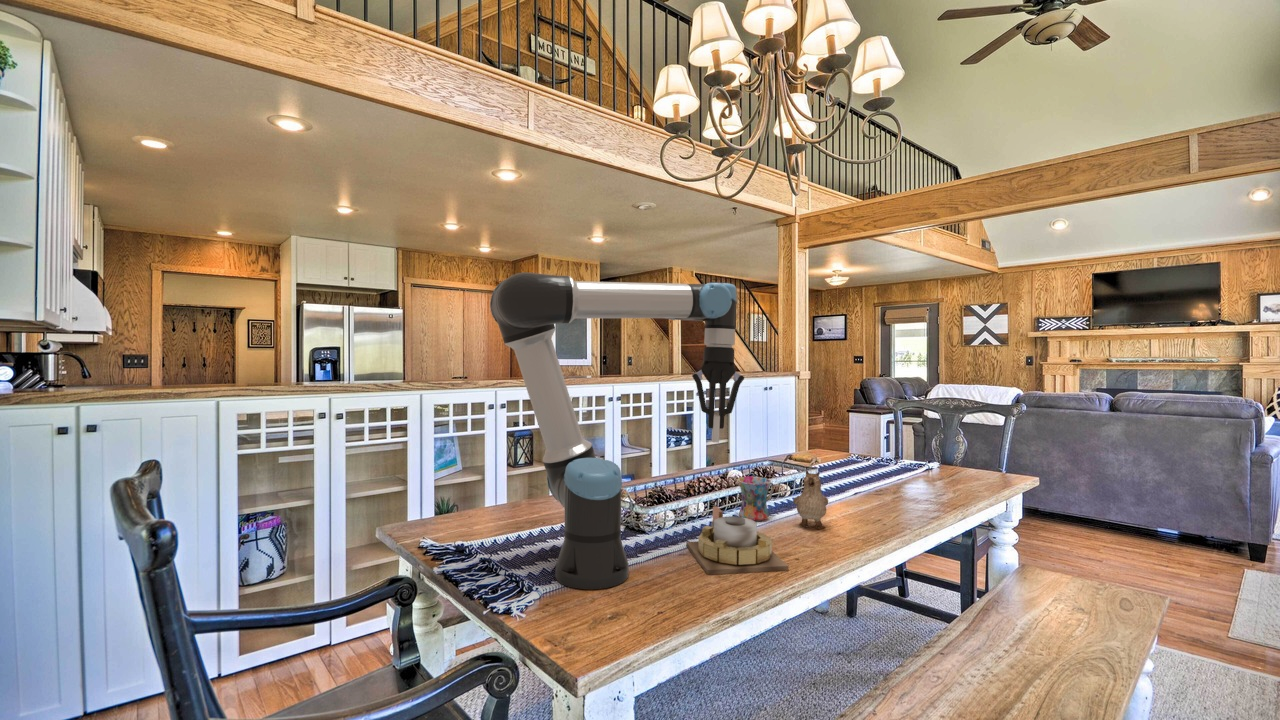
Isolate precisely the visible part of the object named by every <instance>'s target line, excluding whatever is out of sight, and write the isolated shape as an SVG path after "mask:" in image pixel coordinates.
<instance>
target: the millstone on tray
mask: <svg viewBox="0 0 1280 720" xmlns="http://www.w3.org/2000/svg"><path fill="white" fill-rule="evenodd" d="M721 517H724V511H722V510H721V509H720V508H719V507H718V506H712V522H710V525H704V526H703V527H702V528H701V530H702V532H701V533H700V535H698V541H699V546H698V550H699V552H700V553H701V554H702V555H703V556H704V557H706V558H708V559H711V560H714V561H716V562H718V561H719V562H721V563H728V564H735V565H737V563H738V565H744V564H756V563H757V564H758V563H760V562H763V561H766V560H768V559H770V556H771V554H772V552H773V546H772V545H773V539H772V538H770V537H769V536H768V535H767V534H764V533H763V532H759V531H757V542H756V546H753V547H740V548H736V547H728V546H727V541H724V540H720V539H718V540H717V541H715V543H714V520H715V519H717V518H721Z"/></svg>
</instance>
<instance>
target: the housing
mask: <svg viewBox="0 0 1280 720" xmlns="http://www.w3.org/2000/svg"><path fill="white" fill-rule="evenodd" d="M757 529H758V523H757V522H756V520H751V519H747V518H742V517H741V516H723V517H721V518H717V519H715V520H714V543H715V541H717V540H718V539H720V540H724V541H727V546H728V547H736V548H740V547H753V546H756V542H757V532H758V530H757ZM685 543H686V544H685V545H686V548H687V549H688V551H689V552H690V553H691V555H692V556H693V557H694V559H695V560H696V562H697V563H698V564H699V565H700V566H701V568H702V570H704V572H705V573H706V575H707V576H709V575H713V576H714V575H726V574H727V575H729V574H730V575H731V574H745V573H746V574H747V573H765V572H766V573H767V572H781V571H782V572H784V571H785V572H786V571H789V565H788V564H787V563H786V562H785V561H784V559H781V558H780V557H779V556H778V555H777V554H776V553H774V552H773V551H772V554H771V556H770V559H768V560H766V561H763V562H760V563H758V564H757V563H756V564H744V565H738V563H737V565H735V564H728V563H721V562H719V561H718V562H716V561H714V560H711V559H708V558H706V557H704V556H703V555H702V554H701V553H700V552H699V550H698V546H699V540H698V541H686V542H685Z"/></svg>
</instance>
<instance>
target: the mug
mask: <svg viewBox="0 0 1280 720" xmlns="http://www.w3.org/2000/svg"><path fill="white" fill-rule="evenodd" d="M737 483H738V485H739V488H740V491H741V507H740V509H739V512H738V517H742V518H747V519H751V520H753V521H764V520H766V519H767V520H768V518H770V513H769V510H768V506H767V502H768V500H769V499H770V498H771V497H772V495H773V493H774V490H775V485H774V484H773V483H772V480H771V479H769V478H765V477H761V476H743V477H742V476H741V477H738V479H737ZM770 487H771V490H770ZM769 490H770V493H769V494H768V492H769Z"/></svg>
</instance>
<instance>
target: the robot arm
mask: <svg viewBox="0 0 1280 720" xmlns="http://www.w3.org/2000/svg"><path fill="white" fill-rule="evenodd" d="M490 297H491V298H490V303H489V304H490V305H489V306H490V308H489V309H490V313H491V315H492V317H493V319H494V321H495V322H496V323H497V325H498V328H499V331H500V335H501V337H502V340H503V343H504V345H505V346H507V347H509V348H510V349H512V350H513V351H514V354H515V358H516V360H517V363H518V367H519V370H520V372H521V376H522V378H523V382H524V385H525V388H526V391H527V394H528V397H529V400H530V403H531V406H532V409H533V413H534V417H535V419H536V422H537V425H538V428H539V431H540V434H541V437H542V440H543V441H542V442H543V444H544V446H545V452H544V455H543V457H542V463H543V466H544V469H545V472H546V480H547V481H546V482H547V486H548V490H549V491H550V494H551V495H552V497H553V498H555V500H556V501H557V502H559V503H560V505H561V506H562V508H564V538H563V542H562V545H561V548H560V551H559V554H558V557H557V560H556V562H555V580H557V582H558V583H559V584H561V585H564V586H566V587H570V588H573V589H578V590H579V589H580V590H601V589H608V588H609V589H610V588H611V587H616V586H618V585H621V584H623V583H624V582H625V581H626V580H627V579H629V566H630V565H629V562H628V558H627V555H626V551H625V548H624V546H623V541H622V539H621V536H622V535H621V527H622V525H621V523H622V519H621V518H622V517H621V516H622V487H623V478H622V471H621V468H620V467H619V465H618V464H617V463H615V462H614V461H611V460H609V459H604V458H601V457H597V456H596V453H595V450H594V447H593V444H592V442H591V441H589V440H587V439H585V438H584V437H583V435H582V431H581V428H580V425H579V421H578V418H577V416H576V413H575V409H574V406H573V403H572V400H571V396H570V393H569V390H568V387H567V383H566V381H565V380H566V379H565V378H564V374H563V371H562V368H561V365H560V362H559V359H558V356H557V353H556V350H555V349H556V348H555V346H554V343H553V339H552V338H553V336H554V333H555V332H556V326H555V325H556V324H557V325H558V324H570V323H572V321H574V320H575V319H666V320H672V321H676V320H677V321H691V322H692V321H694V322H695V321H696V322H704V339H703V340H704V342H703V344H704V345H706V346H704V348H703V357H702V358H703V360H702V361H703V362H702V366H701V367H700V370H699V371H696V372H695V373H692V375H691V376H692V378H693V381H694V382H695V386H696V390H697V394H698V400H699V406H700V411H701V412H702V413H704V414H707V426H708V429H711V442H712V443H716V444H717V443H719V442H720V429H721V430H722V429H724V427H725V416H726V415H730V414H732V412H733V410H734V407H735V403H736V399H737V396H738V392H739V389H740V386H741V384H742V383H743V381H744V380H745V376H744V375H741V374H740V373H738V371H737V369H736V367H735V348H734V347H733V346H735V344H736V320H737V319H736V318H737V305H738V298H737V297H738V296H737V286H736V285H735V284H732V283H727V282H708V283H673V282H670V283H668V282H666V283H665V282H630V281H629V282H628V281H627V282H625V281H624V282H623V281H622V282H621V281H586V280H585V281H581V280H579V281H577V280H574V279H573V278H572V276H570V275H555V274H546V273H545V274H544V273H538V272H537V273H536V272H529V271H524V272H519V273H515V274H512V275H511V276H510V275H509V277H508V278H506V279H504V280H502V281H501V282H500V283H498V285H497V286H496V287H495V288H494V289H493V292H492V294H491V296H490ZM703 376H704V378H705V379H706V380H707V382H708V387H709V388H708V407H707V403H706V398H705V393H704V389H703V383H702V380H703ZM732 377H733V378H732ZM731 379H733V381H734V382H733V384H732V387H731V390H730V394H729V397H728V400H727V401H728V402H727V406H726V395H727V394H726V392H727V383H728V382H730V380H731ZM716 384H719V385H718V387H719V391H718V392H719V393H718V395H719V397H718V414H715V405H716V404H715V402H716V386H717V385H716Z"/></svg>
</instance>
